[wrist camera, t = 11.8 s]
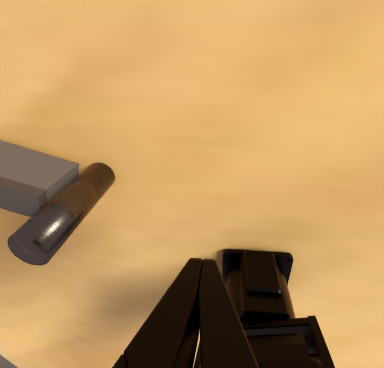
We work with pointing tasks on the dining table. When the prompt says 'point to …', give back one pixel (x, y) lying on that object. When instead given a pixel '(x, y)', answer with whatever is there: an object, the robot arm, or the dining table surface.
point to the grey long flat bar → (31, 178)
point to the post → (60, 216)
